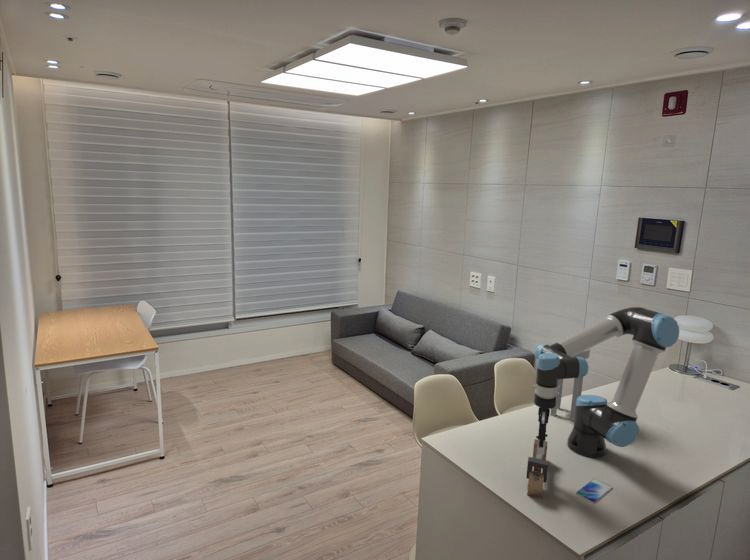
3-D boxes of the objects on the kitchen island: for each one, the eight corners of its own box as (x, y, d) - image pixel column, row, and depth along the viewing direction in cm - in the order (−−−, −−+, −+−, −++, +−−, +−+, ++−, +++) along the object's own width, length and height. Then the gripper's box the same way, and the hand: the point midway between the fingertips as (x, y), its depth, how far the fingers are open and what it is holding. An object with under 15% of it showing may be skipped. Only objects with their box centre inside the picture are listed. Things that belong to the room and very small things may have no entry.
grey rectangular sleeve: (546, 478, 175) (548, 461, 174) (546, 483, 172) (548, 465, 171) (527, 473, 178) (528, 456, 177) (526, 478, 175) (527, 460, 174)
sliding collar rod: (545, 459, 194) (547, 441, 193) (541, 498, 169) (544, 477, 168) (533, 457, 196) (534, 438, 195) (527, 495, 171) (529, 473, 169)
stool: (584, 412, 238) (592, 345, 232) (578, 424, 226) (586, 353, 219) (552, 404, 247) (558, 339, 240) (544, 415, 234) (551, 347, 227)
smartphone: (613, 487, 177) (594, 503, 167) (613, 489, 177) (594, 505, 167) (594, 477, 182) (574, 492, 172) (593, 479, 182) (574, 494, 172)
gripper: (536, 386, 184) (531, 443, 188) (533, 400, 172) (528, 459, 176) (556, 390, 181) (551, 447, 186) (555, 403, 169) (550, 464, 174)
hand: (540, 453), depth 181 cm, fingers closed
